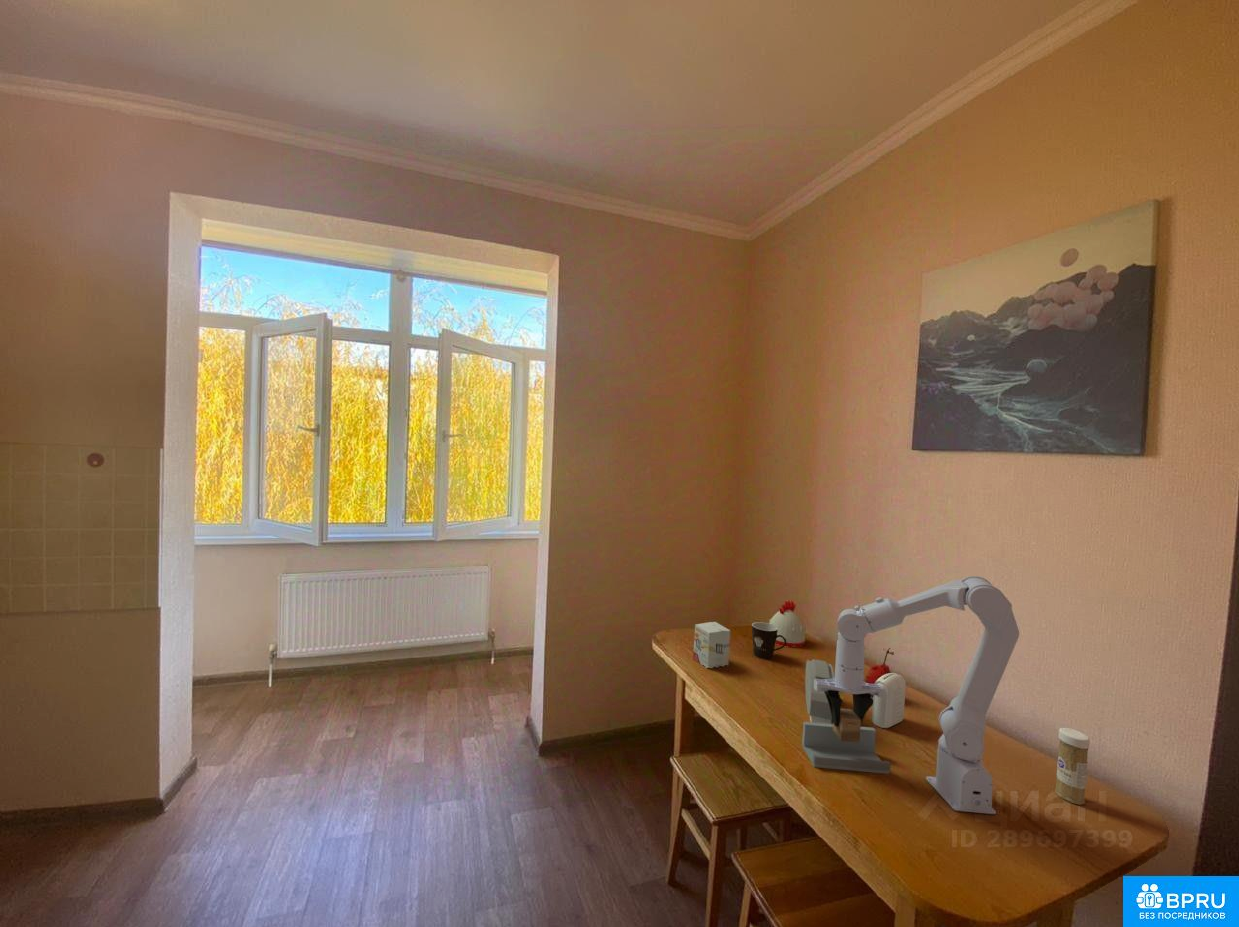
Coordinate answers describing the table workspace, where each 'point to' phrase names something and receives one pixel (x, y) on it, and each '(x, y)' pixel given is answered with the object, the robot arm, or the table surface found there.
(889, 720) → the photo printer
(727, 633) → the ink box
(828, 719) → the alarm clock
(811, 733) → the wall shelf
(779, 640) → the white and red dome
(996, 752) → the table surface
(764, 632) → the coffee mug
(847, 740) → the cabinet block
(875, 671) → the red fruit
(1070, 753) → the sprinkles bottle
